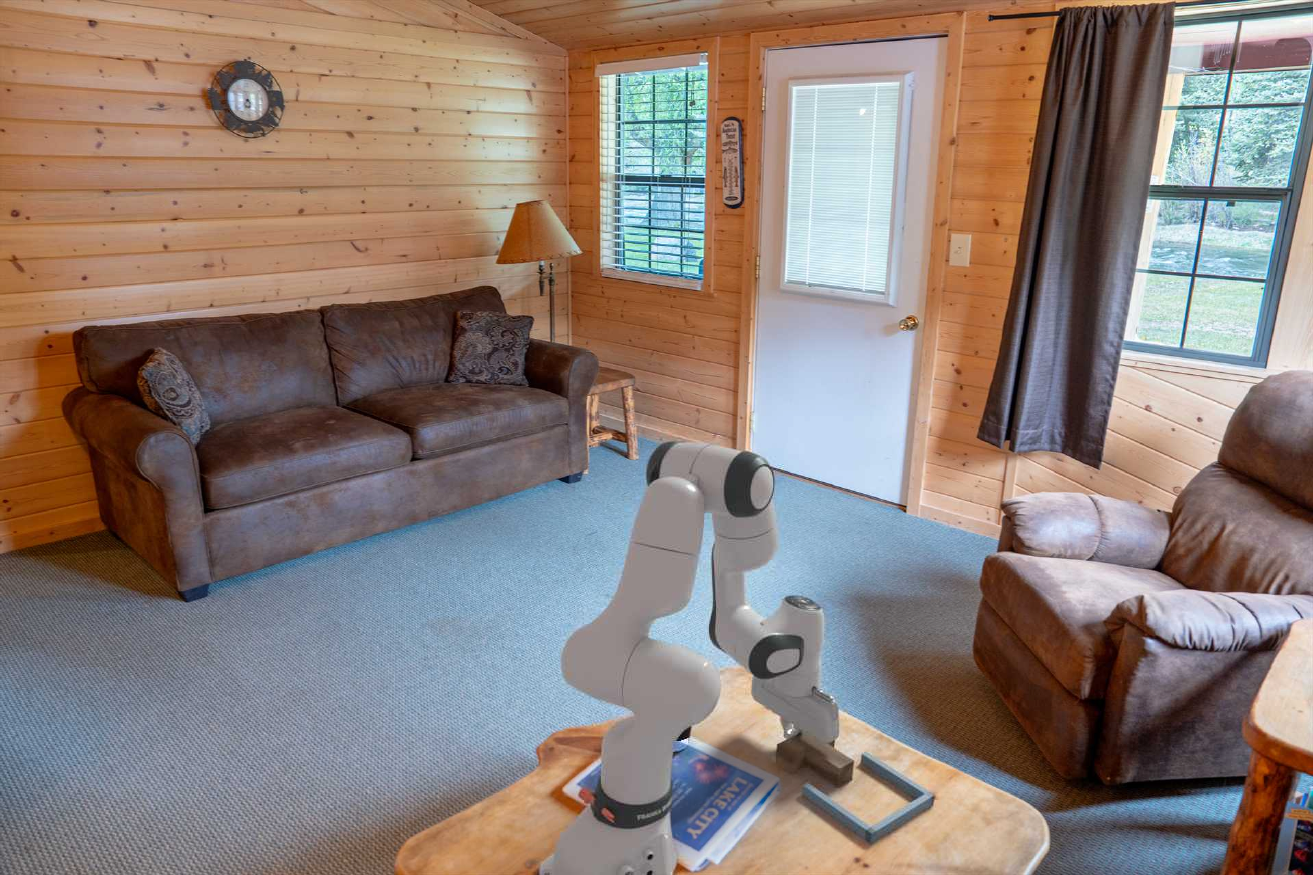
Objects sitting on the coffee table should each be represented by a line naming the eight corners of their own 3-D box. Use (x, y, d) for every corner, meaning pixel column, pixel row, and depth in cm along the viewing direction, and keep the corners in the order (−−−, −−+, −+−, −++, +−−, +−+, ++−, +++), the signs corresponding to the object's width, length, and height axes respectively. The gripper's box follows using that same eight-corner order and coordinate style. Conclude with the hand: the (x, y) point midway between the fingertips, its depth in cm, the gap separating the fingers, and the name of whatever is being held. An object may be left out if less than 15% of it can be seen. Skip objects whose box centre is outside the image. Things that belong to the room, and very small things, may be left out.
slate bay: (870, 843, 155) (871, 833, 154) (801, 794, 167) (802, 784, 166) (933, 804, 165) (934, 794, 165) (864, 760, 177) (865, 751, 177)
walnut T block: (823, 795, 167) (824, 776, 165) (775, 762, 176) (776, 744, 174) (866, 771, 174) (868, 753, 173) (818, 740, 183) (820, 723, 182)
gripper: (850, 695, 170) (843, 760, 174) (770, 650, 185) (766, 710, 189) (827, 706, 166) (821, 772, 170) (748, 659, 182) (743, 721, 185)
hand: (791, 739), depth 180 cm, fingers closed
